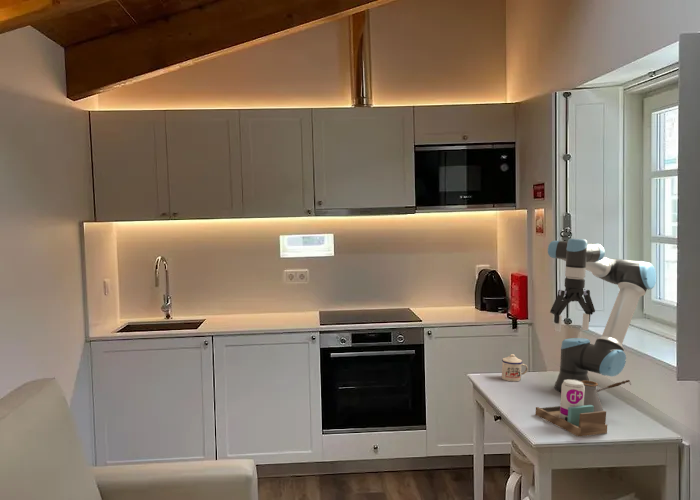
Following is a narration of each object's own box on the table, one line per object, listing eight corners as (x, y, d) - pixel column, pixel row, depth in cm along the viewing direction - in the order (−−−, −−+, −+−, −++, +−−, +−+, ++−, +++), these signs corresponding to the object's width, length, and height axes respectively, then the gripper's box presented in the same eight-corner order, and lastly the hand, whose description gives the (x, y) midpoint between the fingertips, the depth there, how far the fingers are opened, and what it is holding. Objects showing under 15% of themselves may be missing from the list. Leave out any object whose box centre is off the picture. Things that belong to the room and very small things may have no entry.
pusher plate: (567, 425, 236) (568, 407, 235) (589, 423, 240) (591, 404, 239) (569, 427, 235) (571, 408, 234) (592, 424, 238) (593, 406, 238)
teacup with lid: (503, 381, 296) (505, 356, 295) (498, 376, 305) (500, 351, 304) (529, 382, 297) (531, 357, 296) (524, 376, 306) (525, 352, 305)
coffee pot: (575, 418, 248) (577, 380, 247) (568, 409, 260) (571, 372, 258) (633, 422, 246) (635, 384, 245) (623, 413, 257) (626, 376, 256)
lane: (535, 414, 251) (536, 394, 250) (562, 411, 256) (563, 392, 255) (578, 436, 229) (579, 414, 228) (606, 433, 234) (608, 411, 233)
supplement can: (584, 426, 237) (586, 386, 236) (560, 423, 239) (563, 384, 237) (580, 418, 245) (583, 380, 244) (558, 416, 247) (560, 378, 245)
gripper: (593, 276, 264) (589, 327, 266) (543, 277, 255) (539, 330, 257) (606, 278, 257) (603, 331, 259) (555, 279, 248) (552, 334, 250)
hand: (571, 330), depth 258 cm, fingers open, 13 cm apart
